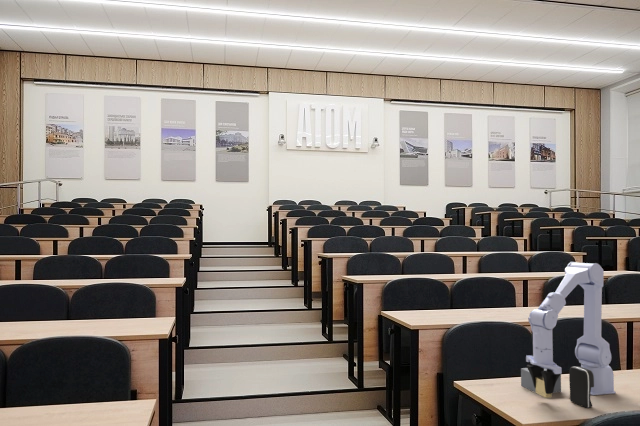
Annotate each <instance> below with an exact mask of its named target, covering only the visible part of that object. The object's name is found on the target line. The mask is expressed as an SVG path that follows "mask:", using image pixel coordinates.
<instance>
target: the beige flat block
mask: <svg viewBox="0 0 640 426" xmlns="http://www.w3.org/2000/svg"><path fill="white" fill-rule="evenodd" d="M535 380H536V393H535V394H537V395H539V396H541V397H543V398H544V399H549V398H550V399H551V398H552V395H553V394H546V392H545V384H544V379H543V377H535Z"/></svg>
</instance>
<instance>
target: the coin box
mask: <svg viewBox="0 0 640 426" xmlns="http://www.w3.org/2000/svg"><path fill="white" fill-rule="evenodd" d="M544 371H547V369H545V368H544ZM542 377H543V376H542ZM520 385H521V386H522V387H523V388H525V389H527V390H529V391H531V392H534V393H535V394H537V393H536V388H534V384H533V380H532V377H531V374H530V372H529V370H528V368H527V367H523V368H520ZM554 393H562V374H561V375H560V376H559V378H558V379H557V381H556V384H555V387H554V391H553V394H554Z"/></svg>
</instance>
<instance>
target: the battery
mask: <svg viewBox="0 0 640 426" xmlns="http://www.w3.org/2000/svg"><path fill="white" fill-rule="evenodd" d="M568 372H569V373H568V374H569V375H568V376H569V378H568V379H569V382H568V383H569V401H570V402H572V403H574V404H577V405H578V406H581V407H582V408H583V407H584V408H592V407H593V403H592V399H591V394H590V392H591V387H594V376H593V373H592V371H591V370H589V369H586V368H583V367H581V366H571V367H570V368H569V371H568Z"/></svg>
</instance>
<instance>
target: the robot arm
mask: <svg viewBox="0 0 640 426" xmlns="http://www.w3.org/2000/svg"><path fill="white" fill-rule="evenodd" d="M566 265H567V266H566V267H565V268H564V277H563V278H562V280H561V282H560V283H559V285H558V287H557V288H556V290H555V292H554V291H553V292H549V293H548V294H547V295H546V297H545V299H543V301H542V302H541V304H540V305H539V307H538V308H535V309H533V310H532V311H530V313H529V317H528V323H529V324H530V331H531V332H532V355H526V356H525V362H527V363H529V364H527V365H526V368H528V370H529V372H530V374H531V377H532V380H533V384H534V388H536V380H535V377H542V376H543V379H544V384H545V392H546V394H552V395H553V394H554V393H553V391H554V387H555V384H556V381H557V379H558V378H559V376H560V375H561V376H562V374H563V373H562V367H561V366H559V365H557V363H555V362H554V355H553V354H554V351H553V350H554V348H553V346H554V343H553V341H554V339H553V329H554V328H555V327H556V325H557V322H558V318H559V314H560V313H561V311H562V310H563V308H564V307H565V306H566V305H567V302H566V298H567V297H568V295H570V293H571V292H572V291H573V290H574V289H575V288H576V287H577V286H578V285H579V286H580V287H581V288H582V289H583V294H584V297H583V335H582V336H580V337H579V338H577V339H576V346H575V348H574V355H575V357H576V359H577V361H578V363H579V364H580V367H583V368H586V369H589V370H591V371H592V373H593V376H594V387H591V392H590V396H599V395H611V394H612V395H613V394H617V393H616V391H615V390H614V389H615V384H614V383H615V382H614V381H615V378H614V377H615V374H614V371H613V369H612V367H611V366H610V365H609V364H611V361H612V353H611V349H610V343H609V342H608V341H607V340H605V338H603V337H602V310H603V307H602V306H603V305H602V301H603V300H602V299H603V298H602V297H603V294H602V292H603V287H604V276H605V275H604V269H603V268H602V265H600V264H599V263H597V262H595V263H590V262H589V263H588V262H586V263H585V262H578V261H577V262H575V261H570V262H569V263H568V264H566ZM544 368H545V369H547V371H544Z"/></svg>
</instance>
